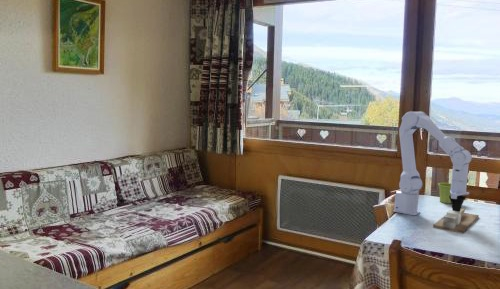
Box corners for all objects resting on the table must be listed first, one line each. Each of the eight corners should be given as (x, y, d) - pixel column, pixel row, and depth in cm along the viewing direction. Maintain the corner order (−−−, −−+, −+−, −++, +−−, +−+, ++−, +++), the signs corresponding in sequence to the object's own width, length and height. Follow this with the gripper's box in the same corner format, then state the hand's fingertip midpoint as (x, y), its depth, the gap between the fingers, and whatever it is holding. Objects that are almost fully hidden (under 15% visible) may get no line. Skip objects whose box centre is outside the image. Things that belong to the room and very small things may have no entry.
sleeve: (445, 222, 184) (446, 212, 184) (448, 220, 188) (449, 209, 188) (457, 225, 182) (458, 214, 181) (460, 222, 186) (461, 211, 185)
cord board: (433, 227, 182) (434, 214, 181) (451, 212, 206) (452, 201, 205) (463, 233, 175) (464, 220, 175) (478, 217, 200) (479, 206, 199)
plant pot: (458, 202, 227) (460, 184, 226) (455, 205, 219) (457, 187, 218) (438, 199, 232) (440, 182, 231) (434, 202, 224) (436, 184, 223)
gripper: (466, 184, 178) (462, 218, 179) (473, 179, 189) (470, 211, 191) (446, 181, 182) (443, 215, 184) (455, 176, 194) (452, 208, 195)
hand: (456, 213), depth 188 cm, fingers closed
